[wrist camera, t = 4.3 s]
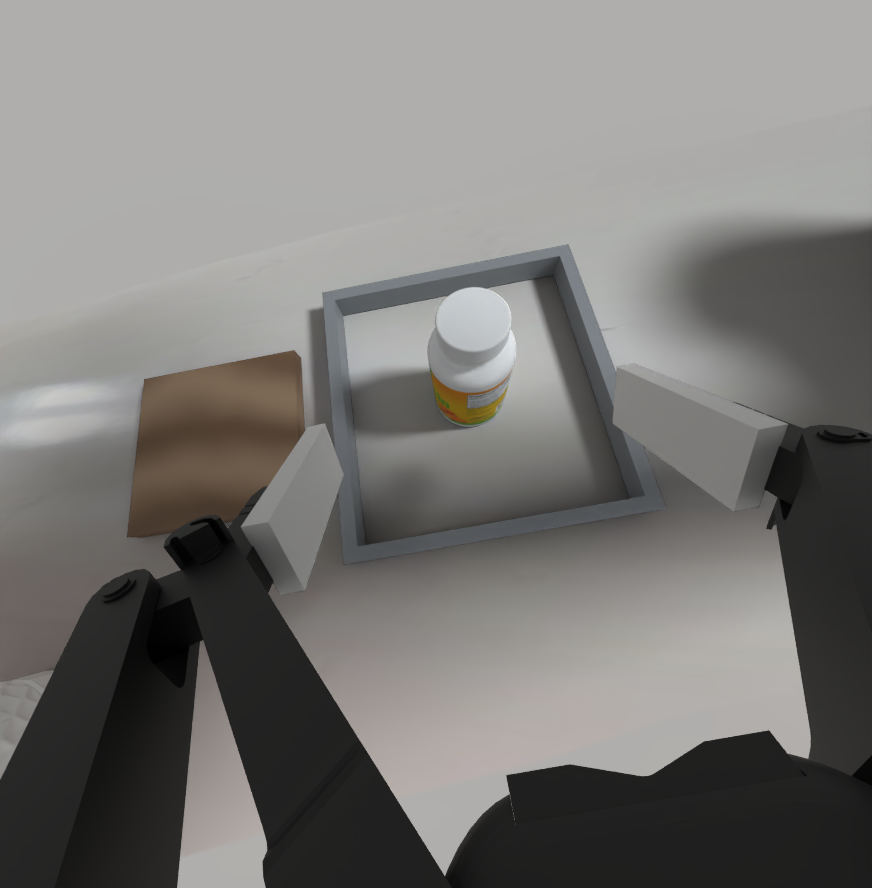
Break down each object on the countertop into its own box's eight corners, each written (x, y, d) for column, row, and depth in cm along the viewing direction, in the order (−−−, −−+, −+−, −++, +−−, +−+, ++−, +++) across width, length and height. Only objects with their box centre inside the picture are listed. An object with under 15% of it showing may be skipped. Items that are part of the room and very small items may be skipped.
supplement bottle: (426, 380, 27) (407, 295, 18) (487, 357, 27) (500, 262, 18) (449, 438, 26) (442, 378, 16) (514, 414, 26) (543, 341, 16)
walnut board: (308, 507, 25) (301, 505, 24) (142, 537, 25) (127, 537, 24) (301, 358, 29) (294, 350, 28) (156, 385, 29) (144, 379, 28)
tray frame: (649, 511, 23) (666, 508, 21) (353, 563, 23) (343, 565, 22) (561, 263, 29) (568, 244, 27) (331, 308, 30) (322, 292, 28)
